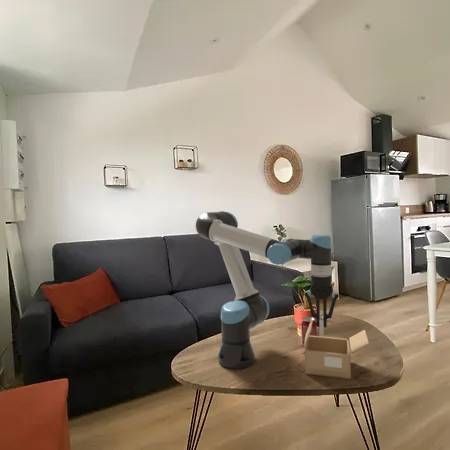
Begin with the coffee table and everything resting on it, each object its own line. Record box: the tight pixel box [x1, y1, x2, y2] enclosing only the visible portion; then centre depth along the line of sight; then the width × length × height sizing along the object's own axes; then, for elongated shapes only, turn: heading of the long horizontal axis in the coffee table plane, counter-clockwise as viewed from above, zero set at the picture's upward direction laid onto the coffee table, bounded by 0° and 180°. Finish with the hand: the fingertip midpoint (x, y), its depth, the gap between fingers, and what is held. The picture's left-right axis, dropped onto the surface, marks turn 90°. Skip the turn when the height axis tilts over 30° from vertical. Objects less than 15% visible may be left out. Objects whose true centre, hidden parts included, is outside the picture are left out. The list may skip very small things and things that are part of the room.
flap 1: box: [303, 319, 313, 349], centre depth 125 cm, size 7×13×1 cm
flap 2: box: [348, 329, 370, 354], centre depth 119 cm, size 7×13×1 cm
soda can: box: [300, 316, 318, 346], centre depth 144 cm, size 7×7×12 cm
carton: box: [304, 335, 352, 380], centre depth 123 cm, size 16×15×9 cm
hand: (321, 334), depth 123 cm, fingers closed
